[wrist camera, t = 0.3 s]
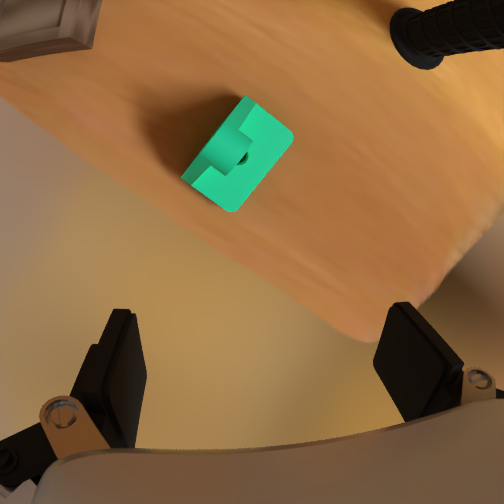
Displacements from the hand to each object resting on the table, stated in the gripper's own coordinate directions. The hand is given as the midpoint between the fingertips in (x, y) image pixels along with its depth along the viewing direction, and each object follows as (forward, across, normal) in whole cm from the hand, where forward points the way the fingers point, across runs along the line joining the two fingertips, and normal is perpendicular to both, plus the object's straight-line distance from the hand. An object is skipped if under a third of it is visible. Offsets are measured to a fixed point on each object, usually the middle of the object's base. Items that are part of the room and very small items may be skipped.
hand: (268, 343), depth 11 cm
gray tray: (+31, +24, -26) cm, 47 cm away
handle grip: (+31, -26, -24) cm, 46 cm away
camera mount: (+31, -1, -4) cm, 31 cm away
